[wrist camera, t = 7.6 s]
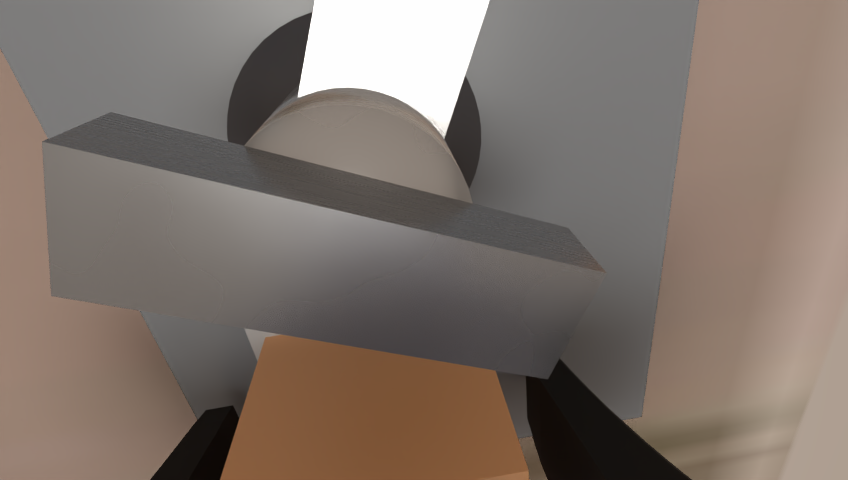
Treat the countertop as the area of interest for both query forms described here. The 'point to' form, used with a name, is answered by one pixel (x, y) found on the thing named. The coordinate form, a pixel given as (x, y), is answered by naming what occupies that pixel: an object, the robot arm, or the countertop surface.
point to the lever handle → (324, 210)
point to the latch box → (466, 138)
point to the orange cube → (370, 418)
